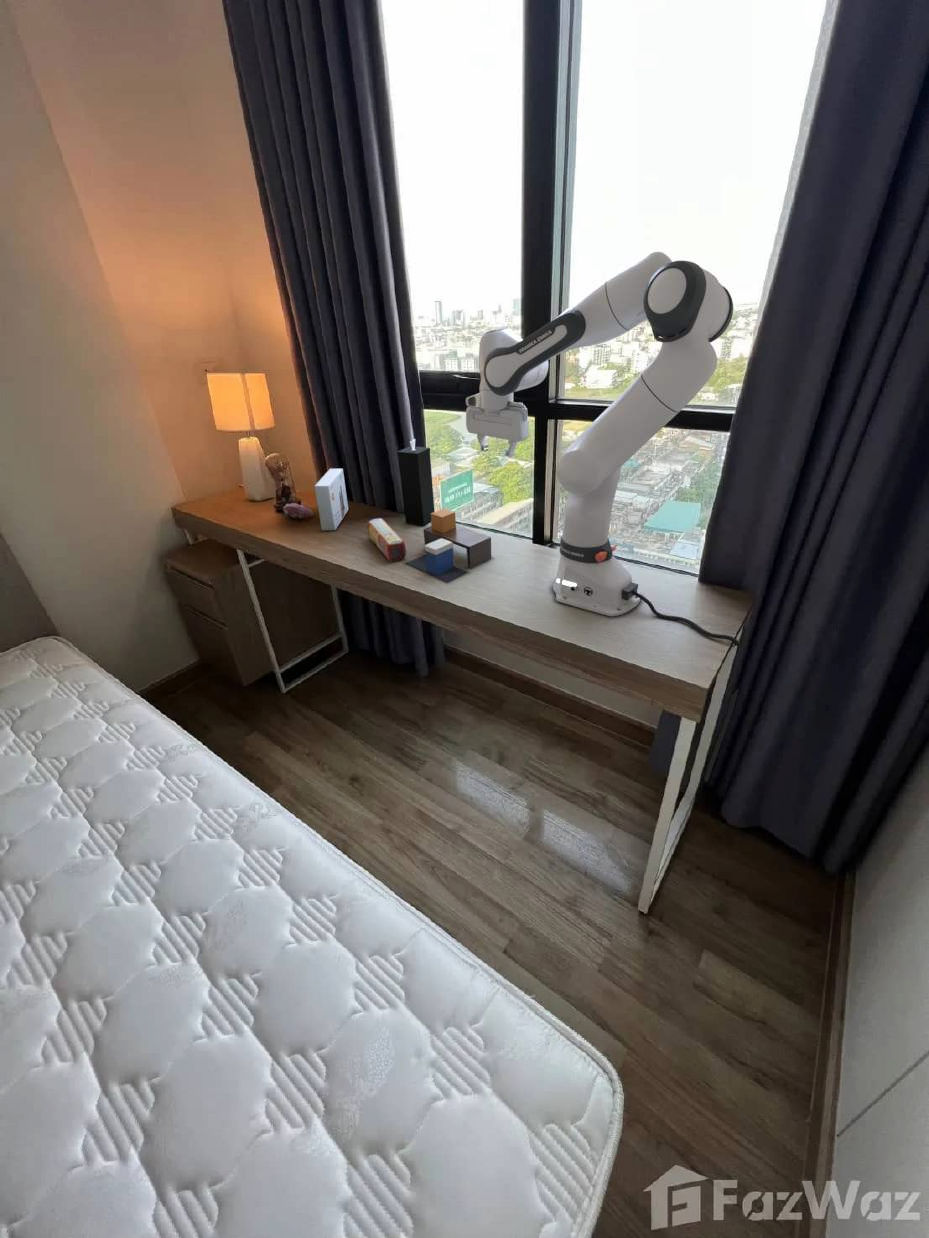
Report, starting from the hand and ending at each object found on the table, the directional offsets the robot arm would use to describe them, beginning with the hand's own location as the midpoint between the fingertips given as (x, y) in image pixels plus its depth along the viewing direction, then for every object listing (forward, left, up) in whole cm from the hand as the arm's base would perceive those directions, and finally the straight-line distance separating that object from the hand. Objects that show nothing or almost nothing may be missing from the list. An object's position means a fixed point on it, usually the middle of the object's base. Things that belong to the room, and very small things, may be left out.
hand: (496, 453), depth 138 cm
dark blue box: (+3, +21, -29) cm, 36 cm away
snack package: (+27, +22, -29) cm, 45 cm away
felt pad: (+5, +21, -29) cm, 36 cm away
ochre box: (+12, +10, -22) cm, 27 cm away
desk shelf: (+7, +10, -29) cm, 32 cm away
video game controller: (+75, +27, -29) cm, 85 cm away
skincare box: (+62, +19, -29) cm, 71 cm away
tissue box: (+37, 0, -29) cm, 47 cm away
